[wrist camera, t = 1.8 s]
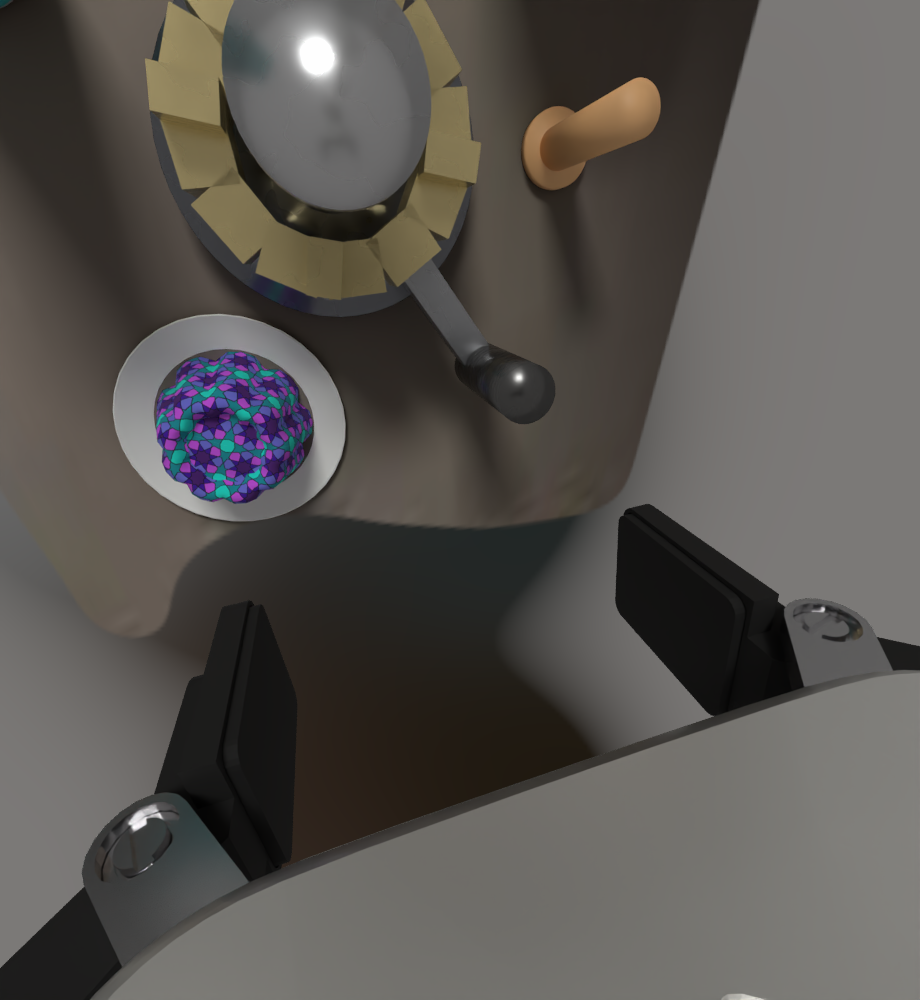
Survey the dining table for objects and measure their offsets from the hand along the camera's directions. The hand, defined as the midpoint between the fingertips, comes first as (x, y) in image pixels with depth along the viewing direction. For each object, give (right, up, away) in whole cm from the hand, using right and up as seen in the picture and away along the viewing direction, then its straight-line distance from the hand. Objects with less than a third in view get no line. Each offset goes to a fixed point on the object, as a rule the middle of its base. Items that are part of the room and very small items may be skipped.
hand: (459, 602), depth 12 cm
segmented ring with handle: (-4, +16, +12) cm, 20 cm away
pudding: (-13, +7, +17) cm, 22 cm away
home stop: (+5, +21, +15) cm, 26 cm away
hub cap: (-7, +19, +12) cm, 24 cm away
